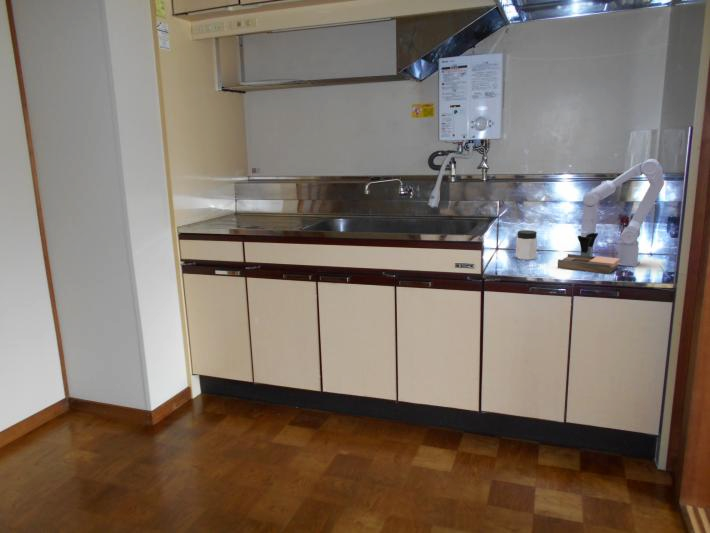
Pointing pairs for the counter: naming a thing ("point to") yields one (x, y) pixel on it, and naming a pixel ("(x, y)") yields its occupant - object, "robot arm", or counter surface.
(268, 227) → the counter surface
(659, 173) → the robot arm
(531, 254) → the jar
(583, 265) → the board
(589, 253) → the block
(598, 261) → the lid
